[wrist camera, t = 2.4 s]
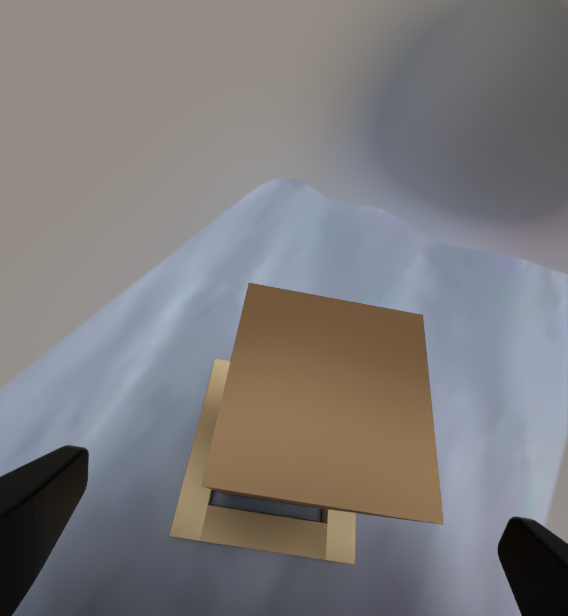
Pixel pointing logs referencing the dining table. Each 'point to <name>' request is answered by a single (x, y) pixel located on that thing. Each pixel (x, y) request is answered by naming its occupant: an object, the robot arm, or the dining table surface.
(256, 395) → the brown block
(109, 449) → the dining table surface
